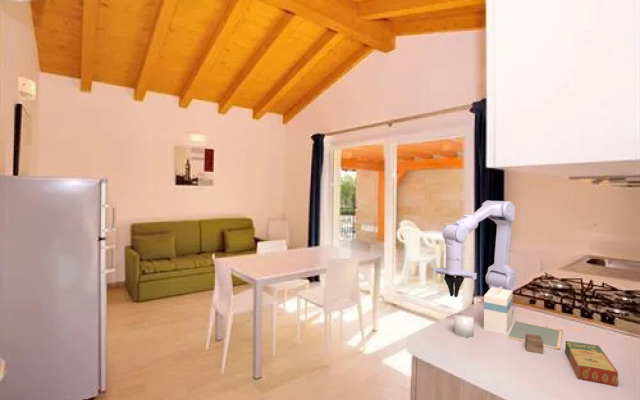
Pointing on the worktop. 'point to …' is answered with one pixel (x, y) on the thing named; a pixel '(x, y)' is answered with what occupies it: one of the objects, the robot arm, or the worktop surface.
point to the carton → (591, 363)
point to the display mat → (547, 334)
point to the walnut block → (534, 343)
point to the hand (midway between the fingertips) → (454, 296)
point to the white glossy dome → (464, 325)
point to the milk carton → (498, 310)
